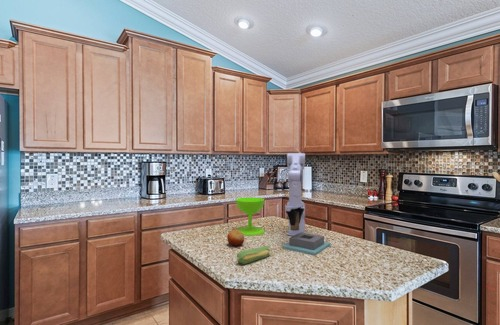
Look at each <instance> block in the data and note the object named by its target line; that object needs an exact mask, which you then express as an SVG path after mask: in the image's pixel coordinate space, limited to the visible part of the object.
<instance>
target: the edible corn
mask: <svg viewBox="0 0 500 325" xmlns="http://www.w3.org/2000/svg"><path fill="white" fill-rule="evenodd" d="M271 247H272V245H270V244H268V245H264V246H260V247H259V246H258V247H255V248H250V249H244V250H239V252H238V253H237V254H236V261H237V262H238V264H241V265H246V264H249V263H253V262H255V261H258V260H262V259H265V258H269V257H271V254H270V253H269V252H271V249H270V248H271Z"/></svg>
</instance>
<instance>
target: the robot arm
mask: <svg viewBox="0 0 500 325" xmlns="http://www.w3.org/2000/svg"><path fill="white" fill-rule="evenodd" d="M286 164H287V166H286V167H287V169H288V170H289V171H287V172H288V173H287V174H288V177H287V178H288V179H287V180H288V186H289V187H288V201H287V203H286V206H285V214H286V217H287V218H288V232H286V233H285V236H286V235H287V236H290V237H292V236H294V235H296V234H298V233H300V232H302V233H307V232H306V221H305V217H306V205H305V202H303V201H302V182H303V170H305V167H306V166H305V165H306V154H305V152H299V153H298V152H296V153H293V152H287V153H286ZM298 212H299V230H297V231H294V230H291V225H293V226H295V223H296V216H297V213H298Z"/></svg>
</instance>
